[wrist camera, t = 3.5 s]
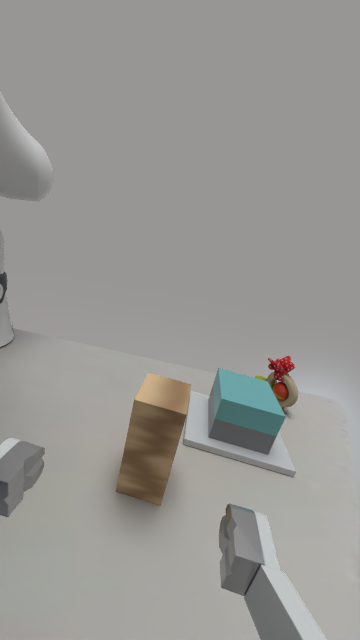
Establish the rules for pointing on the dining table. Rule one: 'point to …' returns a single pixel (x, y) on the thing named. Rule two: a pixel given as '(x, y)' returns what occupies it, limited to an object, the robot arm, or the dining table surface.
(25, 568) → the dining table surface
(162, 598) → the dining table surface
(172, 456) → the oak brick
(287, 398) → the bird rattle
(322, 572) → the dining table surface
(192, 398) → the brick tower
